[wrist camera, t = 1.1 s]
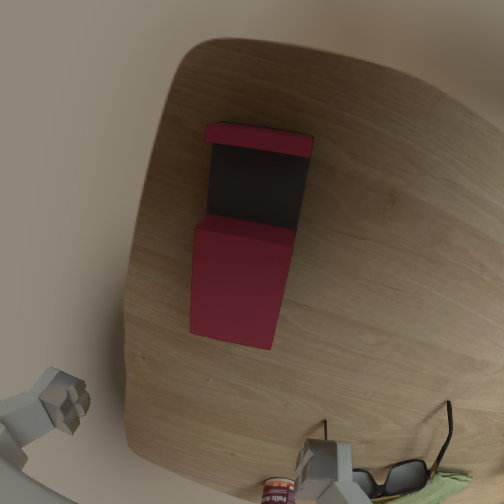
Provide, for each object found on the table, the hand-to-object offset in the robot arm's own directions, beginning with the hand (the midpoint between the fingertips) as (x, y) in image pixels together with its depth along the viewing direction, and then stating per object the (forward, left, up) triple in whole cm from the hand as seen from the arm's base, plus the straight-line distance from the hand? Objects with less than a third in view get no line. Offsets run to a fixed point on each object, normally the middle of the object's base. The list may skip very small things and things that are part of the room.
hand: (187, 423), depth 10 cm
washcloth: (+39, +33, -15) cm, 53 cm away
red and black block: (-1, 0, -15) cm, 15 cm away
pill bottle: (+37, +9, -15) cm, 41 cm away
